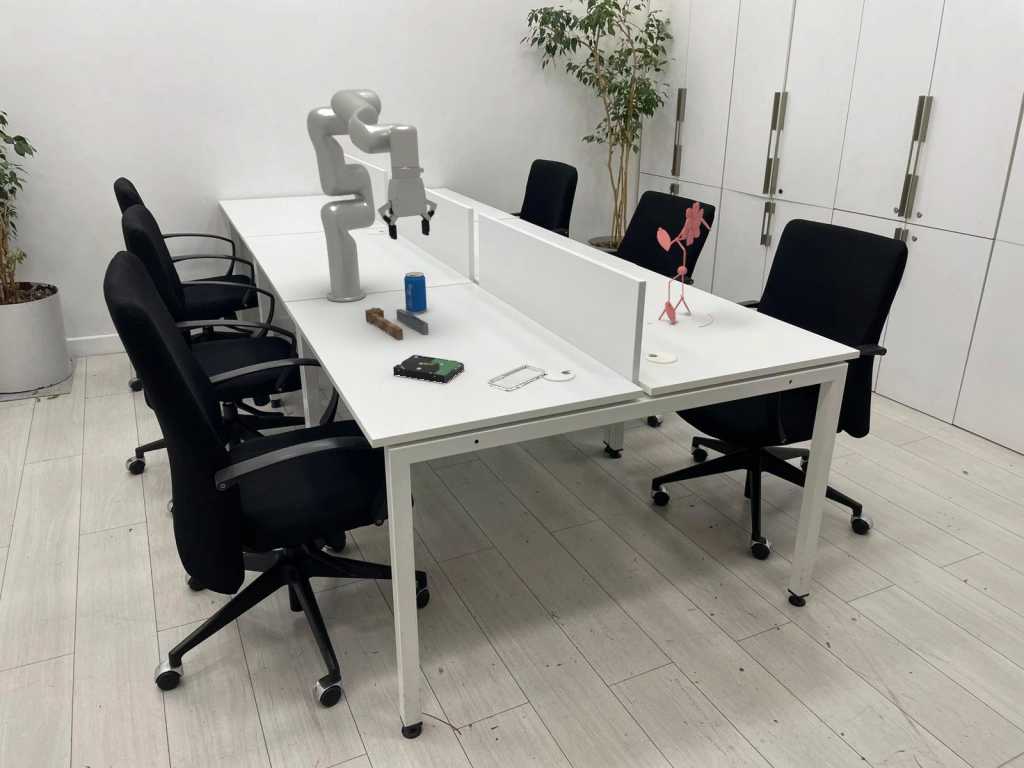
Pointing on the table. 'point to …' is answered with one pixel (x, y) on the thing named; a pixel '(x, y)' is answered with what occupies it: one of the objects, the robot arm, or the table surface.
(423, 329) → the long gray metal bar
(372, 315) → the brown bar with block
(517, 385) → the phone case
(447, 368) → the disk drive
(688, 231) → the figurine
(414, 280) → the beverage can
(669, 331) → the table surface
